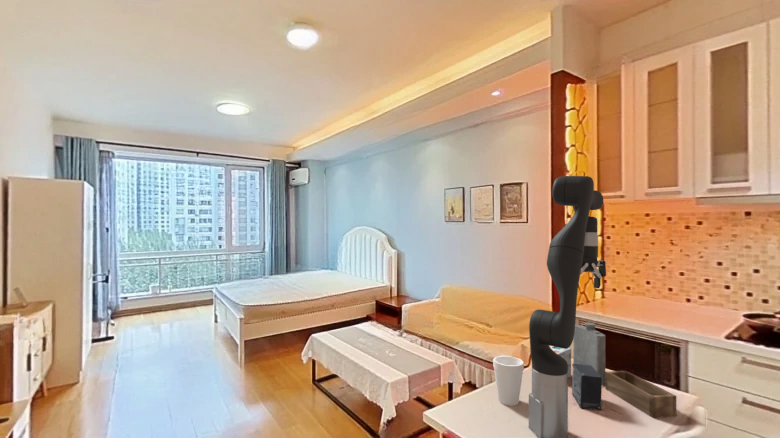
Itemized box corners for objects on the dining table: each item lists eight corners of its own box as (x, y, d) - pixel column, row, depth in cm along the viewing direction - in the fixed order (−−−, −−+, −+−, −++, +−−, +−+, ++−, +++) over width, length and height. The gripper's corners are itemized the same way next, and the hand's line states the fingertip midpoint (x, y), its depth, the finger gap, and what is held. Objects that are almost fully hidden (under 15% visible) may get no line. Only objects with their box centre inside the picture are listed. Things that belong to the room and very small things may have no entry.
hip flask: (571, 368, 152) (571, 318, 152) (580, 368, 153) (580, 318, 153) (599, 385, 136) (599, 329, 136) (609, 384, 137) (609, 328, 137)
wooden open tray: (652, 417, 113) (652, 397, 114) (605, 388, 133) (605, 371, 133) (676, 416, 115) (676, 396, 115) (625, 387, 134) (625, 370, 135)
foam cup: (487, 400, 124) (487, 360, 124) (502, 391, 130) (502, 353, 131) (514, 411, 117) (514, 368, 117) (528, 401, 123) (529, 361, 124)
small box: (603, 411, 118) (603, 376, 118) (580, 408, 119) (580, 375, 119) (592, 395, 128) (592, 364, 128) (571, 394, 129) (571, 362, 129)
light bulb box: (554, 370, 150) (554, 343, 150) (572, 376, 144) (572, 347, 144) (540, 377, 143) (540, 348, 143) (558, 383, 138) (558, 353, 138)
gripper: (575, 244, 138) (575, 289, 137) (611, 245, 140) (610, 289, 139) (563, 243, 145) (562, 286, 145) (597, 244, 147) (596, 286, 147)
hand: (586, 288), depth 142 cm, fingers open, 8 cm apart
